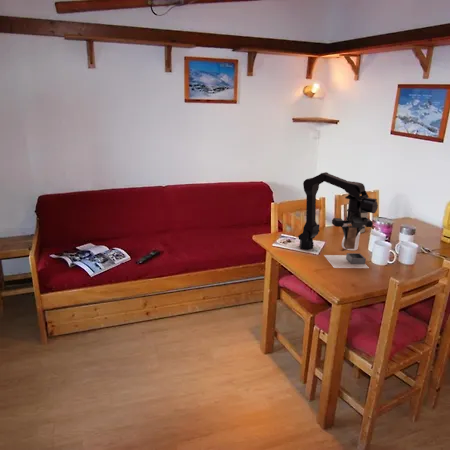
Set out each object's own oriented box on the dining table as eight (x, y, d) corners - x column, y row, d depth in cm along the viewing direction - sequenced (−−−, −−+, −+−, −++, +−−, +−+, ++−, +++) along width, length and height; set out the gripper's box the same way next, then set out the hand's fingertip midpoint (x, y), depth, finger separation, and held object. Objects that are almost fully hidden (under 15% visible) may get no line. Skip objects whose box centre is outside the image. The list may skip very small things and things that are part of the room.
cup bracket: (351, 264, 203) (352, 258, 202) (345, 258, 210) (346, 253, 209) (364, 264, 203) (365, 258, 202) (359, 258, 210) (360, 253, 209)
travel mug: (366, 233, 252) (370, 205, 247) (353, 232, 252) (357, 205, 247) (362, 229, 260) (366, 202, 254) (349, 228, 260) (354, 201, 254)
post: (346, 248, 201) (349, 227, 198) (343, 245, 205) (346, 225, 202) (354, 248, 201) (357, 227, 198) (351, 245, 205) (354, 225, 202)
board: (333, 269, 198) (334, 267, 198) (323, 256, 213) (323, 255, 213) (369, 269, 200) (369, 268, 199) (356, 257, 215) (356, 255, 214)
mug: (346, 254, 218) (349, 236, 214) (334, 249, 224) (337, 232, 221) (360, 250, 224) (363, 232, 221) (348, 245, 231) (350, 228, 227)
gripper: (341, 213, 189) (336, 244, 194) (379, 213, 190) (374, 244, 195) (333, 206, 199) (329, 236, 204) (370, 207, 201) (365, 237, 205)
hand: (350, 238), depth 202 cm, fingers closed on post, 4 cm apart
